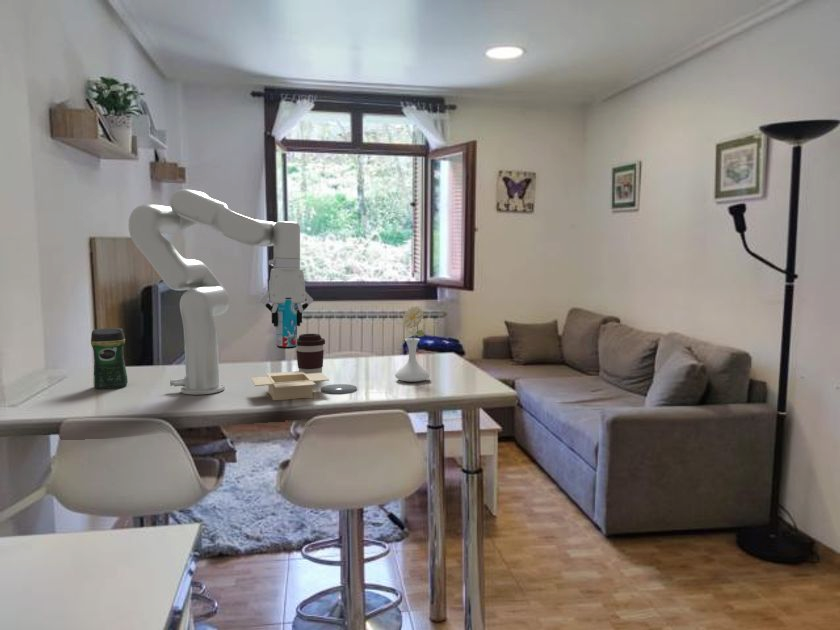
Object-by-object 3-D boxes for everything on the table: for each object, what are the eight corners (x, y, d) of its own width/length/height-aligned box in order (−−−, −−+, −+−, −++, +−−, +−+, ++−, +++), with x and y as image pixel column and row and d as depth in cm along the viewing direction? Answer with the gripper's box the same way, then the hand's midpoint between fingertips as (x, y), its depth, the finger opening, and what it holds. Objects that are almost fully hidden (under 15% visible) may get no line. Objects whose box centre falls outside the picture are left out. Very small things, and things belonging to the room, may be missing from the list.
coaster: (325, 395, 181) (325, 393, 181) (317, 387, 191) (317, 385, 191) (361, 392, 185) (361, 390, 185) (351, 384, 195) (351, 383, 195)
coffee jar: (128, 383, 199) (126, 326, 197) (126, 388, 191) (123, 329, 190) (95, 385, 195) (92, 327, 194) (91, 390, 188) (88, 330, 186)
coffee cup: (309, 375, 211) (308, 332, 209) (331, 378, 206) (331, 334, 204) (289, 380, 202) (288, 335, 201) (312, 383, 197) (311, 337, 196)
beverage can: (292, 349, 177) (292, 297, 176) (273, 348, 178) (273, 297, 177) (300, 346, 183) (300, 296, 182) (281, 345, 184) (281, 295, 183)
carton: (257, 406, 168) (257, 388, 168) (249, 390, 188) (249, 374, 188) (333, 399, 176) (333, 382, 176) (318, 384, 196) (317, 369, 195)
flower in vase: (389, 379, 205) (389, 304, 202) (419, 376, 210) (419, 303, 207) (406, 386, 193) (406, 307, 191) (438, 383, 198) (438, 306, 196)
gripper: (257, 264, 172) (258, 328, 174) (318, 265, 178) (318, 326, 180) (254, 263, 179) (255, 325, 180) (313, 264, 185) (313, 323, 187)
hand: (286, 325), depth 180 cm, fingers closed on beverage can, 5 cm apart
